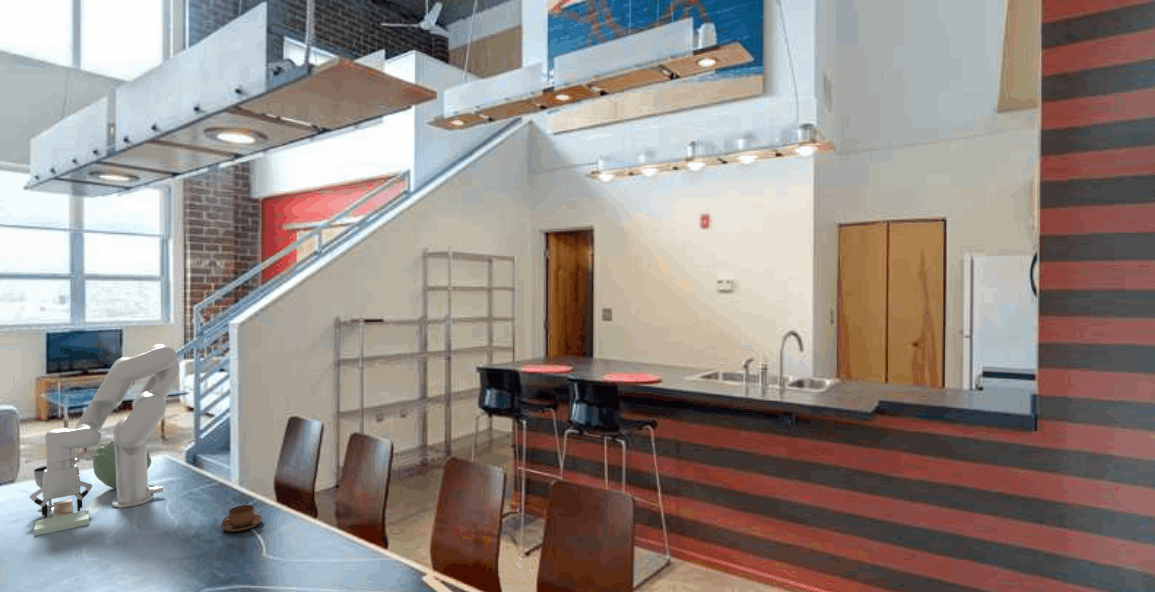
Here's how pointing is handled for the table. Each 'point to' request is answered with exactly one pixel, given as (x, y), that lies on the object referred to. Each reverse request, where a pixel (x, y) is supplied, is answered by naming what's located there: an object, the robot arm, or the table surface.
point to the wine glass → (41, 483)
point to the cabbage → (108, 463)
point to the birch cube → (63, 508)
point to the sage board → (61, 522)
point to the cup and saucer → (241, 518)
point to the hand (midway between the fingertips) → (62, 513)
